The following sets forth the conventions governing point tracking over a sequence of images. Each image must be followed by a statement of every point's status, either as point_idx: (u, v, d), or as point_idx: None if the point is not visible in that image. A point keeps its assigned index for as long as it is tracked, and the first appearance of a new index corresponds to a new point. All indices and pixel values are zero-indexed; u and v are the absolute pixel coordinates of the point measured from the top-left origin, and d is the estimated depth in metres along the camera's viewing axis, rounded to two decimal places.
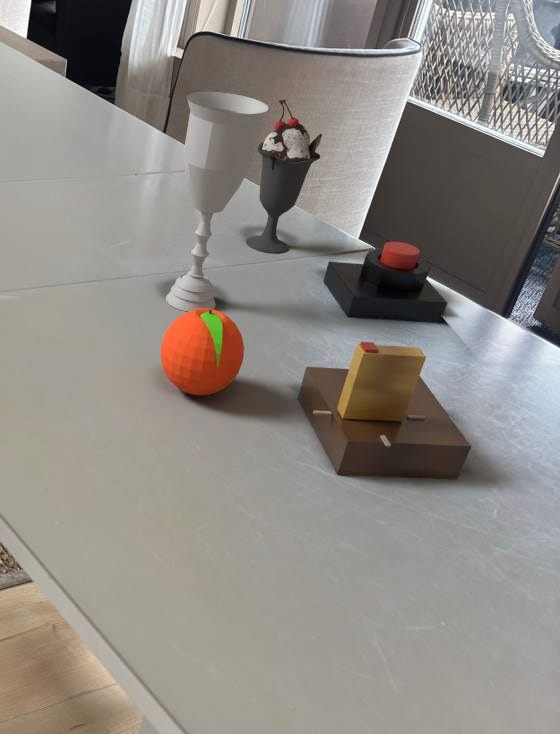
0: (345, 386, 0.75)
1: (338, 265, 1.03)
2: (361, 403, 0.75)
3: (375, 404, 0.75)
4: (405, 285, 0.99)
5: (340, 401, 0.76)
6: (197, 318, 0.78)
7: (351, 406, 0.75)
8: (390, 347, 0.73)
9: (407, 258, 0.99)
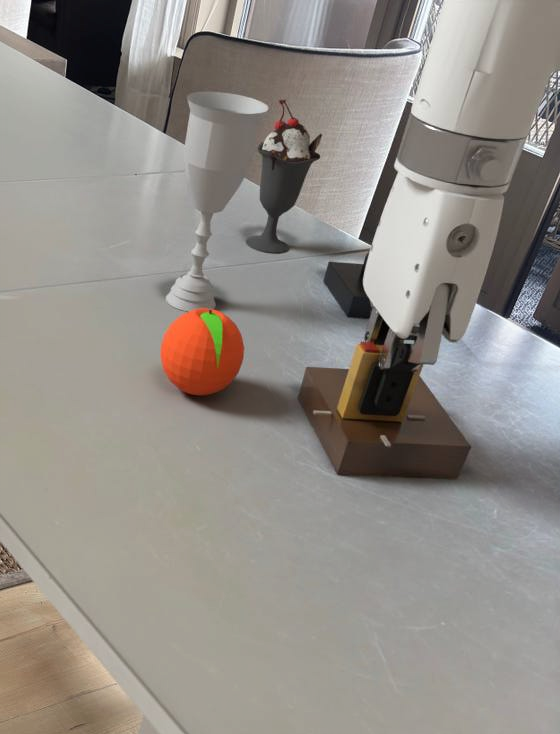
0: (345, 386, 0.75)
1: (338, 265, 1.03)
2: None
3: None
4: None
5: (340, 401, 0.76)
6: (197, 318, 0.78)
7: (351, 406, 0.75)
8: None
9: None
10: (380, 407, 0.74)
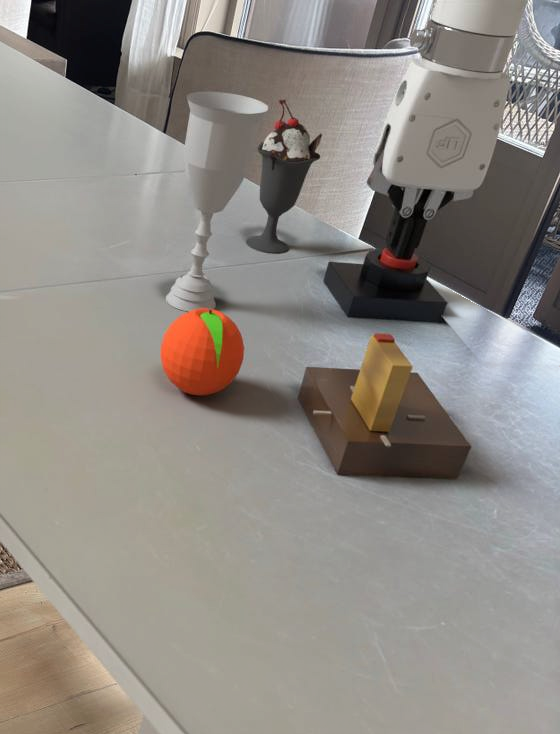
0: None
1: (338, 265, 1.03)
2: (359, 390, 0.77)
3: (364, 397, 0.76)
4: (405, 285, 0.99)
5: None
6: (197, 319, 0.78)
7: (355, 389, 0.77)
8: (397, 350, 0.73)
9: (405, 264, 0.99)
10: (386, 241, 0.99)
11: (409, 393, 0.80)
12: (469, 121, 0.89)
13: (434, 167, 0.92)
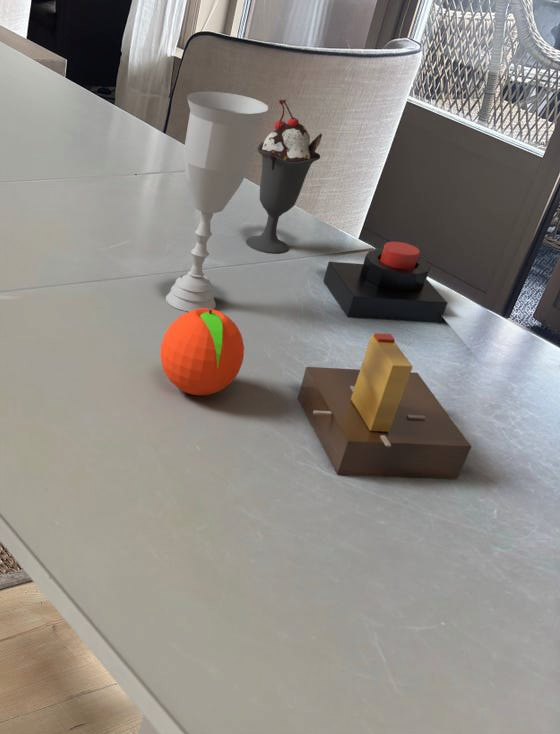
0: None
1: (338, 265, 1.03)
2: (359, 390, 0.77)
3: (364, 397, 0.76)
4: (405, 285, 0.99)
5: None
6: (197, 319, 0.78)
7: (355, 389, 0.77)
8: (397, 350, 0.73)
9: (407, 258, 0.99)
10: None
11: (409, 393, 0.80)
12: None
13: None
